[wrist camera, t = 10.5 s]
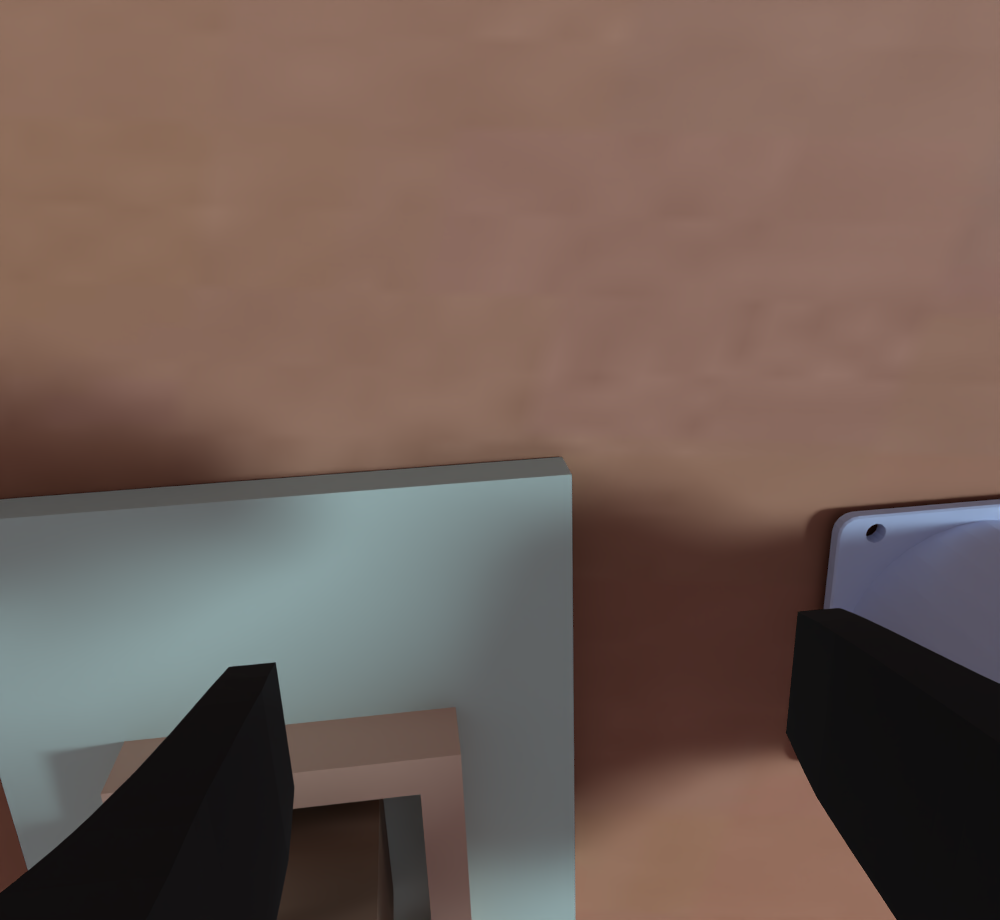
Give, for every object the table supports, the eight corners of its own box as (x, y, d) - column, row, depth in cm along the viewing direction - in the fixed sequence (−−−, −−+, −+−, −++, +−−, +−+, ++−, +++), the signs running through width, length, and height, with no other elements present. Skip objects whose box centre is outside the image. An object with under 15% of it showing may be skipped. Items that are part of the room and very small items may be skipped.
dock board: (562, 457, 21) (588, 504, 18) (568, 1036, 27) (589, 1137, 25) (-48, 502, 19) (-123, 562, 16) (121, 1101, 26) (88, 1214, 23)
